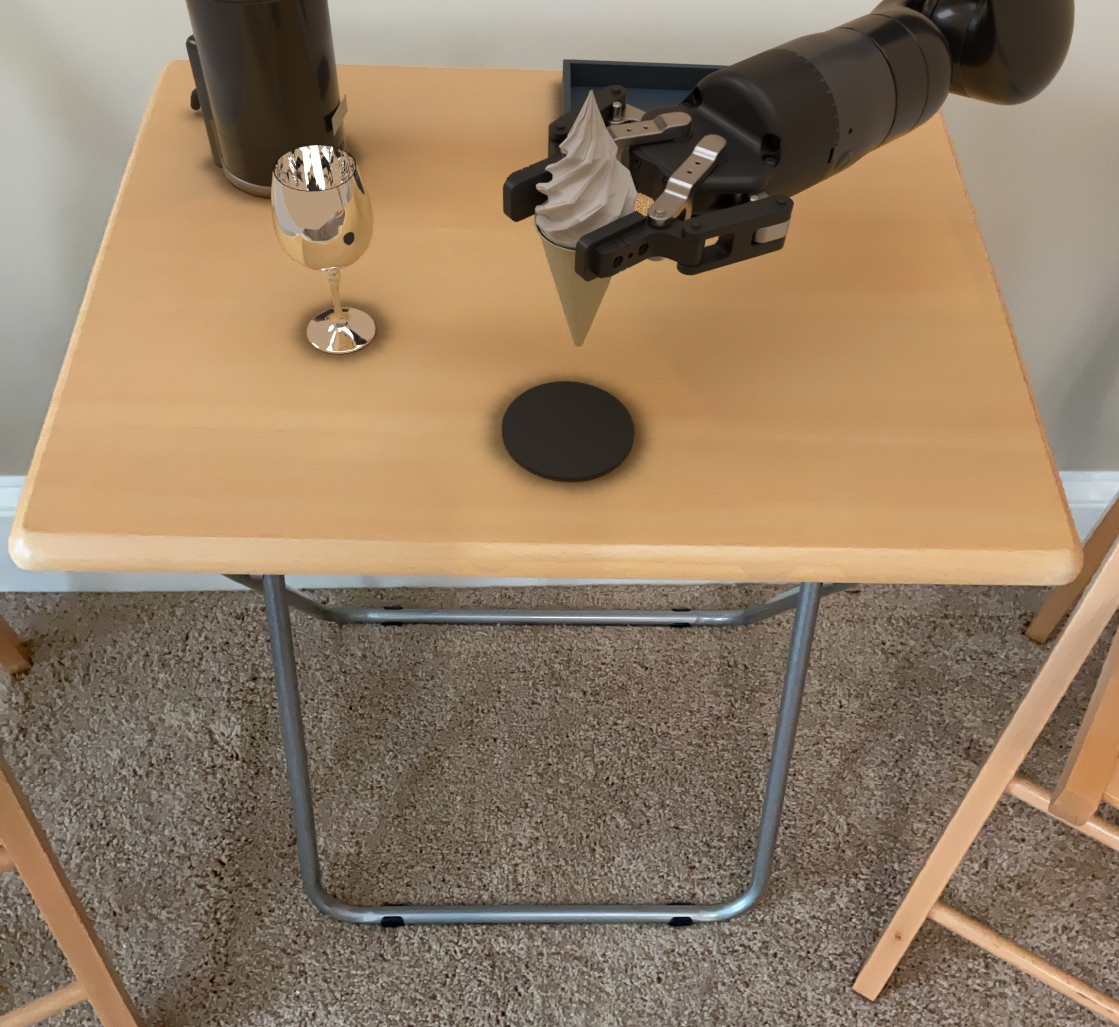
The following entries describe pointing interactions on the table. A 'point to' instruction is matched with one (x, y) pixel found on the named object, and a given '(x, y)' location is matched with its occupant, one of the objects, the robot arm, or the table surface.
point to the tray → (631, 82)
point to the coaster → (567, 431)
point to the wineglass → (325, 232)
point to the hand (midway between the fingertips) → (544, 231)
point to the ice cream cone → (582, 211)
